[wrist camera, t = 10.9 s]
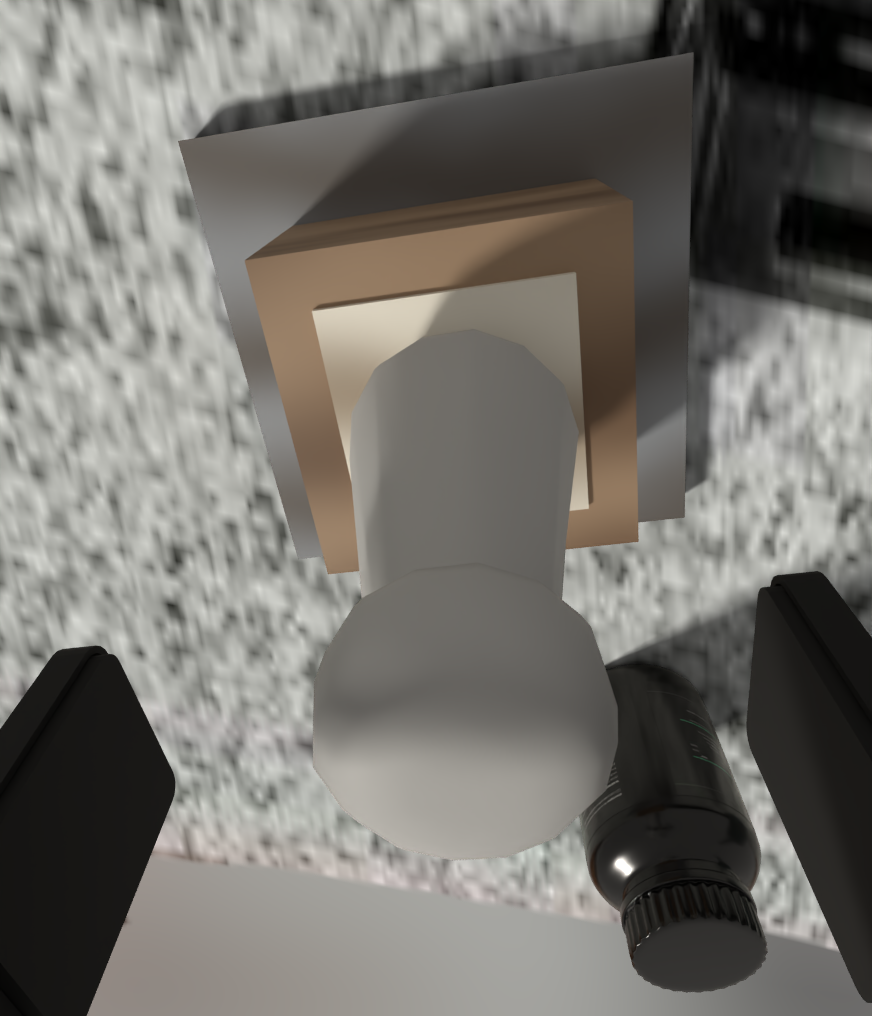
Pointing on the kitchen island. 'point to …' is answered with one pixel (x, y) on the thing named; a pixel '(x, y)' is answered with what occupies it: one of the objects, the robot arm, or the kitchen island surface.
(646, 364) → the plinth
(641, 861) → the supplement bottle
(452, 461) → the salt shaker
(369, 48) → the kitchen island surface
